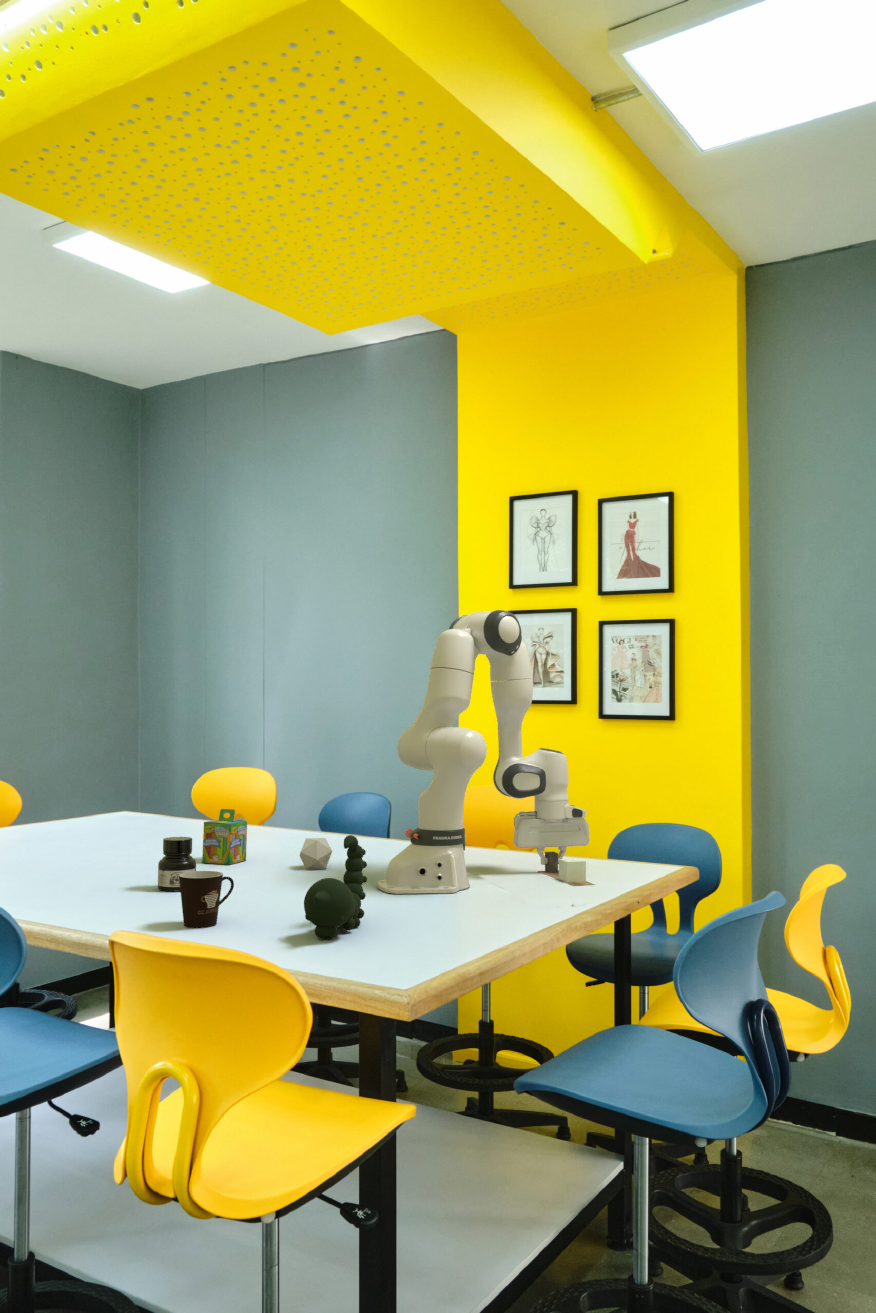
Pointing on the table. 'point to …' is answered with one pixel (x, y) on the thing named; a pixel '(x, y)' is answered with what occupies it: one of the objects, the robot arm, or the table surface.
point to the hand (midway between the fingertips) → (551, 864)
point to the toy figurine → (338, 896)
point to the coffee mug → (201, 897)
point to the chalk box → (224, 840)
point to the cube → (572, 870)
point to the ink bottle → (175, 862)
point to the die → (315, 853)
